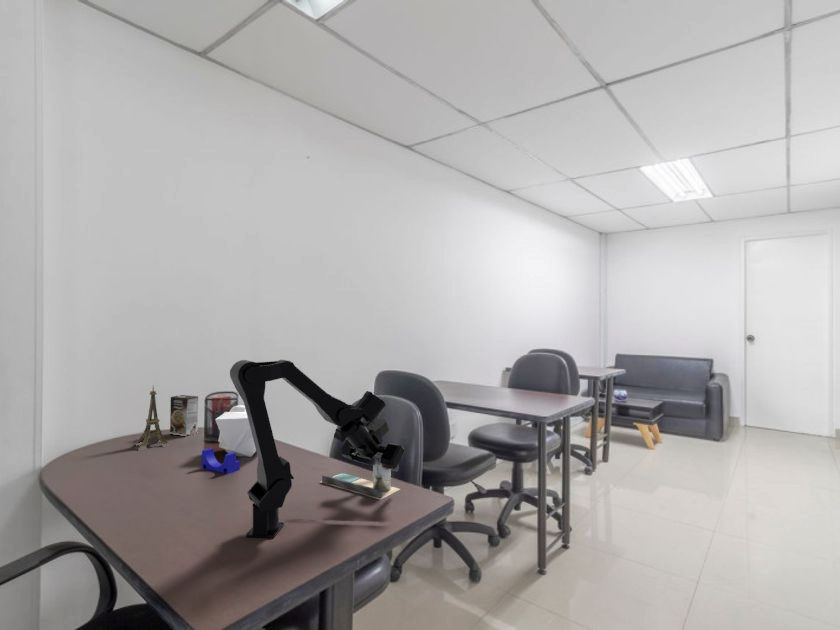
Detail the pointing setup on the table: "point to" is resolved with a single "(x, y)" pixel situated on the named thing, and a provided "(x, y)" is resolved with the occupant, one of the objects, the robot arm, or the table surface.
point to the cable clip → (212, 464)
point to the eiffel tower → (150, 421)
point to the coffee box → (184, 414)
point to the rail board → (356, 485)
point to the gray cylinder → (381, 475)
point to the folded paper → (236, 432)
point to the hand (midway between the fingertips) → (385, 466)
